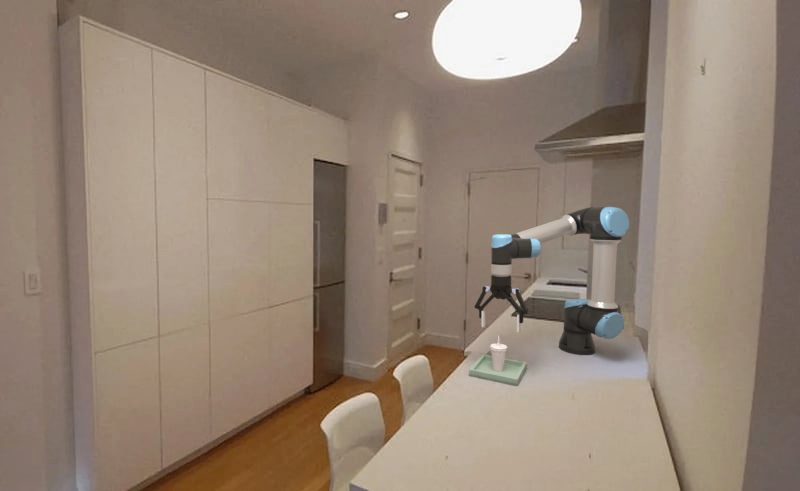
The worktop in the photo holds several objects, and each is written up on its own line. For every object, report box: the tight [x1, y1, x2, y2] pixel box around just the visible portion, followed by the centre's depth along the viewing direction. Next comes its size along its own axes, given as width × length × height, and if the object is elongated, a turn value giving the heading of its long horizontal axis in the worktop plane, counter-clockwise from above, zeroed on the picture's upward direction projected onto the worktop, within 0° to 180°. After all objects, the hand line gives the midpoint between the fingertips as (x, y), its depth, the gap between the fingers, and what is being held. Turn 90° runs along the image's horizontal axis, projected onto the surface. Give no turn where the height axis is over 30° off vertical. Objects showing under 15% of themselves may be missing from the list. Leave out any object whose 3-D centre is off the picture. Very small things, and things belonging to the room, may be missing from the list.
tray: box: [468, 354, 528, 387], centre depth 151 cm, size 18×18×2 cm
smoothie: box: [489, 334, 508, 372], centre depth 150 cm, size 6×6×14 cm
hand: (500, 328), depth 150 cm, fingers open, 13 cm apart
